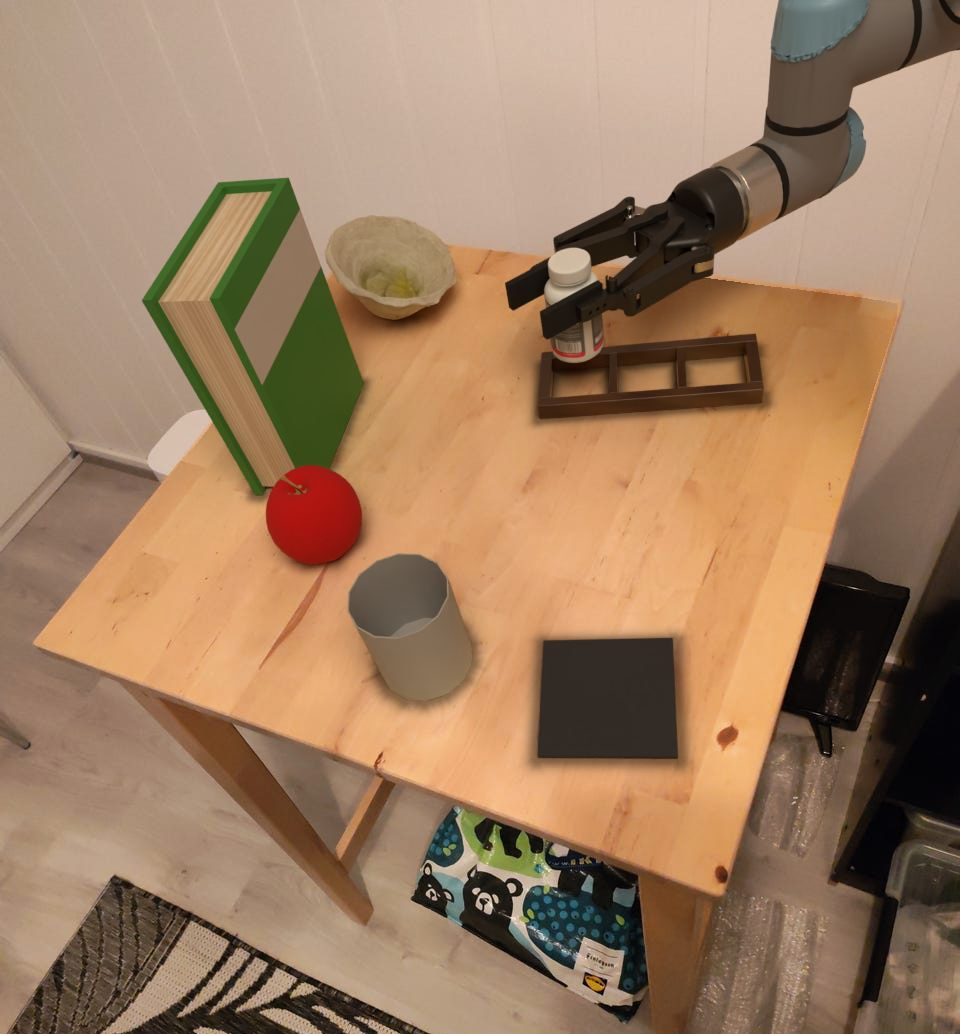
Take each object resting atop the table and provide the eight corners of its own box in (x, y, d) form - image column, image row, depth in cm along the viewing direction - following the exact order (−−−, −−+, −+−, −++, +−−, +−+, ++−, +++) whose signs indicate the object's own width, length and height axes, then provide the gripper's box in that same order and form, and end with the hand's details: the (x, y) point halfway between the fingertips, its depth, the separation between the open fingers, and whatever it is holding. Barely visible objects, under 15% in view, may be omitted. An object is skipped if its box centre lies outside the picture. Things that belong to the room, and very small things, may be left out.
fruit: (317, 499, 88) (282, 428, 80) (388, 521, 84) (359, 449, 76) (267, 564, 84) (225, 497, 76) (339, 590, 81) (303, 523, 72)
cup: (390, 712, 72) (356, 652, 64) (372, 638, 77) (338, 573, 68) (483, 682, 72) (461, 617, 64) (459, 609, 77) (436, 540, 68)
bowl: (438, 352, 98) (418, 275, 89) (332, 345, 102) (303, 271, 94) (477, 273, 105) (461, 195, 96) (376, 269, 109) (353, 194, 101)
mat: (672, 640, 71) (672, 637, 71) (677, 759, 65) (677, 756, 65) (544, 643, 73) (543, 640, 73) (538, 758, 67) (537, 755, 67)
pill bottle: (584, 323, 87) (576, 235, 79) (614, 347, 84) (610, 259, 76) (541, 347, 86) (529, 260, 78) (570, 372, 84) (561, 285, 76)
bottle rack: (754, 347, 89) (756, 333, 87) (762, 403, 84) (764, 389, 83) (543, 365, 93) (541, 351, 92) (539, 419, 89) (537, 406, 87)
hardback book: (317, 497, 88) (219, 298, 68) (255, 494, 90) (141, 300, 70) (363, 383, 97) (288, 177, 77) (306, 382, 99) (218, 182, 79)
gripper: (782, 279, 81) (584, 391, 77) (663, 207, 91) (483, 302, 87) (793, 204, 74) (578, 321, 71) (663, 135, 84) (469, 235, 81)
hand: (526, 310), depth 79 cm, fingers closed on pill bottle, 5 cm apart
